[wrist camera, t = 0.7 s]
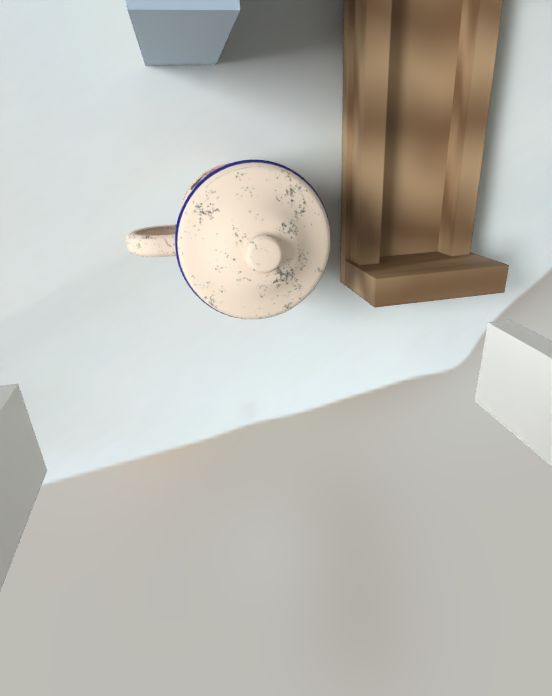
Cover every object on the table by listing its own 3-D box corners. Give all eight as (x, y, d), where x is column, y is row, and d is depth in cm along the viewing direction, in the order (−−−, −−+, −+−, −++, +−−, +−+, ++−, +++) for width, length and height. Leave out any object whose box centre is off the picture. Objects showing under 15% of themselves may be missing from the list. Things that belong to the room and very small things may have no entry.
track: (345, -102, 27) (396, -180, 21) (491, -94, 29) (580, -164, 22) (340, 281, 37) (374, 307, 30) (450, 270, 38) (504, 292, 32)
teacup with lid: (295, 157, 32) (353, 157, 22) (296, 279, 36) (346, 329, 25) (124, 162, 30) (97, 164, 20) (143, 291, 34) (129, 351, 23)
